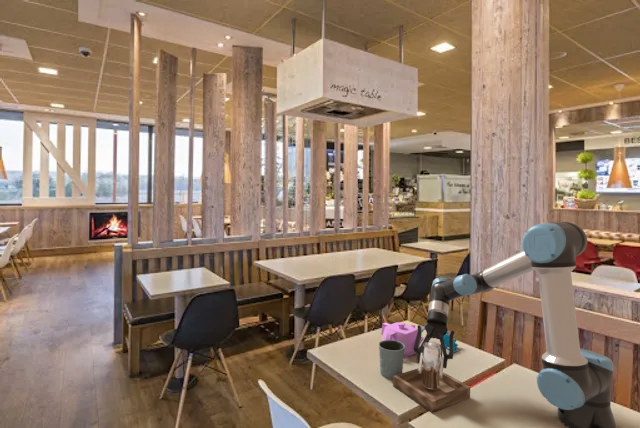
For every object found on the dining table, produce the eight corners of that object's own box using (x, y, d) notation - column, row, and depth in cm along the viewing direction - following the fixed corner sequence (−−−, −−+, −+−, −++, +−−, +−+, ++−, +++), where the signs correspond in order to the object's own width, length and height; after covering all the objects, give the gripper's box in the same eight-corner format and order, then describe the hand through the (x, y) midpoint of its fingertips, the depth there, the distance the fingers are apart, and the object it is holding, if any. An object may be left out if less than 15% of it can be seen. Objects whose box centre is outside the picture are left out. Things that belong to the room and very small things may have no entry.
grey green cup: (407, 372, 149) (408, 343, 148) (399, 383, 140) (400, 352, 140) (383, 365, 154) (384, 337, 153) (374, 376, 146) (374, 346, 145)
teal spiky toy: (449, 351, 165) (438, 330, 171) (440, 357, 168) (429, 336, 174) (463, 349, 171) (452, 329, 177) (455, 355, 175) (444, 335, 181)
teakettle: (379, 341, 179) (380, 316, 178) (415, 342, 178) (416, 317, 178) (384, 357, 162) (385, 330, 161) (423, 359, 162) (425, 331, 161)
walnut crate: (469, 397, 131) (470, 387, 131) (432, 413, 122) (432, 401, 121) (429, 374, 148) (429, 364, 147) (393, 386, 138) (393, 376, 138)
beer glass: (427, 391, 130) (429, 350, 129) (417, 381, 137) (418, 342, 136) (445, 389, 132) (446, 348, 131) (434, 379, 139) (435, 340, 138)
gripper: (464, 323, 143) (459, 384, 129) (413, 315, 151) (403, 371, 137) (464, 314, 138) (459, 376, 124) (411, 306, 146) (401, 364, 132)
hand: (430, 374), depth 131 cm, fingers closed on beer glass, 6 cm apart
